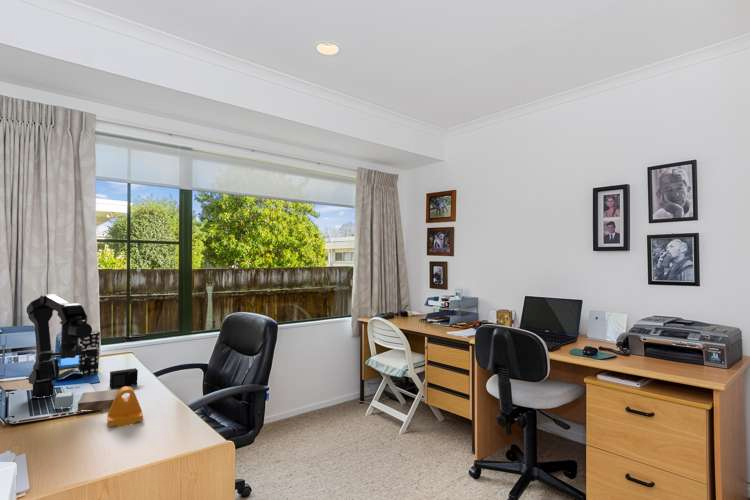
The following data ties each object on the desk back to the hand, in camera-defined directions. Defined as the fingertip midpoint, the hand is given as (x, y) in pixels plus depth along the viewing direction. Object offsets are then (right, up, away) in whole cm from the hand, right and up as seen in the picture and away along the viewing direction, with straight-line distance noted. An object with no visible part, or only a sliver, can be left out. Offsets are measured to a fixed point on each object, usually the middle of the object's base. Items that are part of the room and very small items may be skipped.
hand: (69, 375), depth 166 cm
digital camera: (+6, -13, +27) cm, 30 cm away
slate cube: (-1, -12, -1) cm, 12 cm away
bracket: (+30, -13, -13) cm, 35 cm away
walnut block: (+10, -13, +3) cm, 17 cm away
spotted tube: (-23, -12, +45) cm, 52 cm away
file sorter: (-43, -12, +63) cm, 77 cm away
